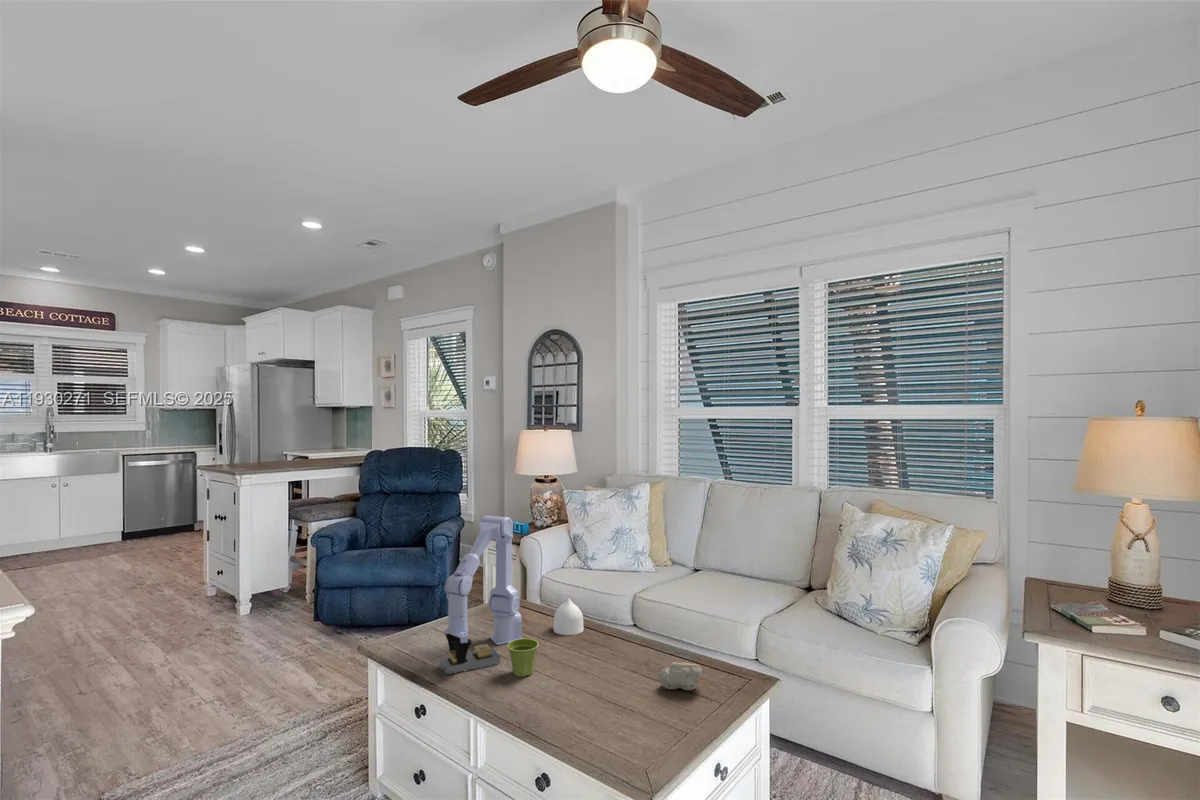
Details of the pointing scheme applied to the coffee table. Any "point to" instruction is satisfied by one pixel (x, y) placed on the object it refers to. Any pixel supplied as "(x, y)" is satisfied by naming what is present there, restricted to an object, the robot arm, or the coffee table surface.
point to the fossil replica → (680, 676)
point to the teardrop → (568, 619)
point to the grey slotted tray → (470, 663)
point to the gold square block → (452, 657)
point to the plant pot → (523, 656)
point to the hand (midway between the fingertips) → (457, 658)
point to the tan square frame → (482, 651)
